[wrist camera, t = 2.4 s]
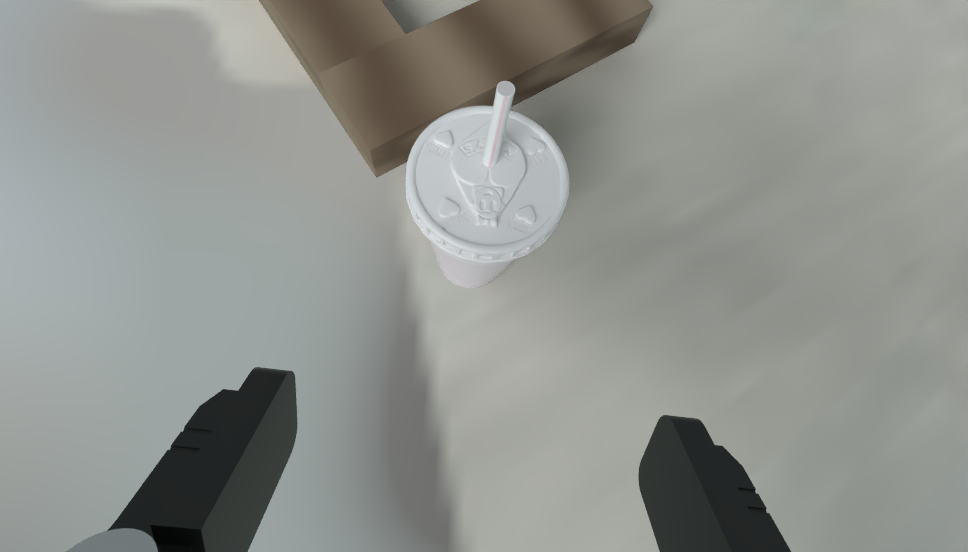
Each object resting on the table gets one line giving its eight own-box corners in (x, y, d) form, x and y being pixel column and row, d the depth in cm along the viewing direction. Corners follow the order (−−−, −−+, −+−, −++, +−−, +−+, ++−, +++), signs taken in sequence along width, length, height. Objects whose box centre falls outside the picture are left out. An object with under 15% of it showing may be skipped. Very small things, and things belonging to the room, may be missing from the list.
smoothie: (526, 209, 29) (607, 28, 16) (525, 315, 27) (616, 213, 14) (417, 201, 28) (404, 6, 15) (409, 309, 26) (385, 196, 13)
